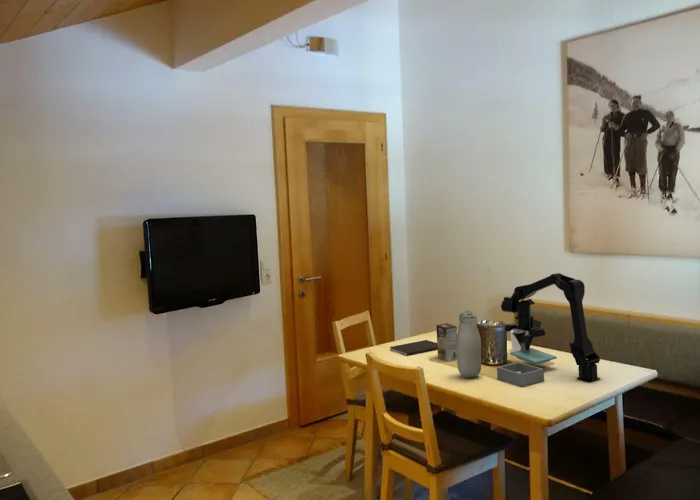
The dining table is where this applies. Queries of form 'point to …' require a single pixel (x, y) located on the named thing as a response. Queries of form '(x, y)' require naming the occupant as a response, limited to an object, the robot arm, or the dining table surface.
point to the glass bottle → (468, 345)
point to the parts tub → (520, 374)
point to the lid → (532, 355)
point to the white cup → (515, 342)
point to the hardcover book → (415, 347)
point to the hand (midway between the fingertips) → (525, 349)
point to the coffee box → (447, 342)
